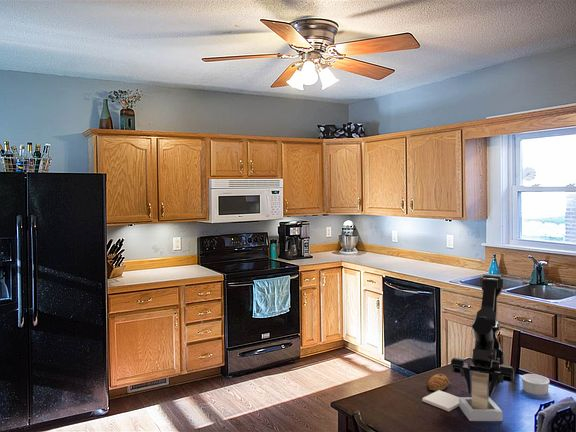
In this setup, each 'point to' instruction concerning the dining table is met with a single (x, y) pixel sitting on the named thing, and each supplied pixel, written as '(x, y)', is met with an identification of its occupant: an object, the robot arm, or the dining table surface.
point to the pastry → (438, 382)
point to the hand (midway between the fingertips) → (479, 394)
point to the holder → (480, 410)
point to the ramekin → (535, 384)
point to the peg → (480, 390)
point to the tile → (442, 400)
